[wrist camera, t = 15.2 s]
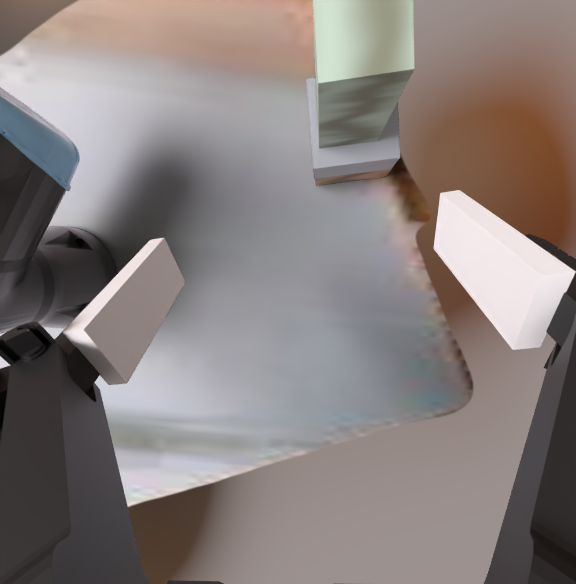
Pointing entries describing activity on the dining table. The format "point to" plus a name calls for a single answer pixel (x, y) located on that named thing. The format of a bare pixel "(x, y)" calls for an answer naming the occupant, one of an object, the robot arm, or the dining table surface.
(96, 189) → the dining table surface
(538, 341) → the robot arm
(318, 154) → the slate block
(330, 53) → the sage block
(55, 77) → the dining table surface
